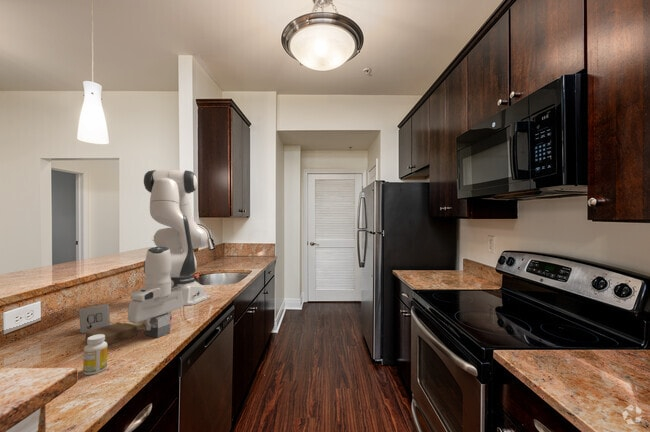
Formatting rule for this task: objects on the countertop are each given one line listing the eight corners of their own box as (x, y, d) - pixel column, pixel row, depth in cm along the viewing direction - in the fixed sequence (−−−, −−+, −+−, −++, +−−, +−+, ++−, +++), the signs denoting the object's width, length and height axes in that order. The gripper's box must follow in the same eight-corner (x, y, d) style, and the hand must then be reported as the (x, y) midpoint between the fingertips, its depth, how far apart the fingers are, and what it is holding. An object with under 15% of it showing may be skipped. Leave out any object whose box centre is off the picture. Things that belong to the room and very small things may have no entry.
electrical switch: (80, 334, 108) (80, 309, 108) (77, 332, 111) (77, 308, 111) (110, 327, 115) (110, 304, 116) (106, 325, 118) (106, 302, 119)
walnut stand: (118, 330, 112) (118, 322, 112) (136, 334, 108) (136, 326, 108) (85, 340, 102) (85, 332, 102) (104, 346, 98) (104, 337, 98)
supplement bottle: (85, 377, 79) (86, 342, 79) (81, 370, 82) (81, 337, 82) (109, 369, 83) (109, 336, 83) (104, 363, 86) (105, 331, 86)
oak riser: (143, 321, 122) (143, 316, 122) (156, 324, 119) (156, 319, 119) (123, 327, 115) (124, 322, 115) (137, 330, 112) (137, 325, 112)
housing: (157, 329, 112) (157, 312, 112) (169, 332, 110) (170, 314, 110) (144, 334, 108) (145, 315, 108) (157, 337, 105) (158, 318, 105)
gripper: (175, 283, 120) (175, 317, 120) (125, 295, 101) (124, 335, 101) (187, 285, 117) (186, 319, 117) (137, 297, 98) (136, 338, 98)
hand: (157, 326), depth 109 cm, fingers closed on housing, 5 cm apart
